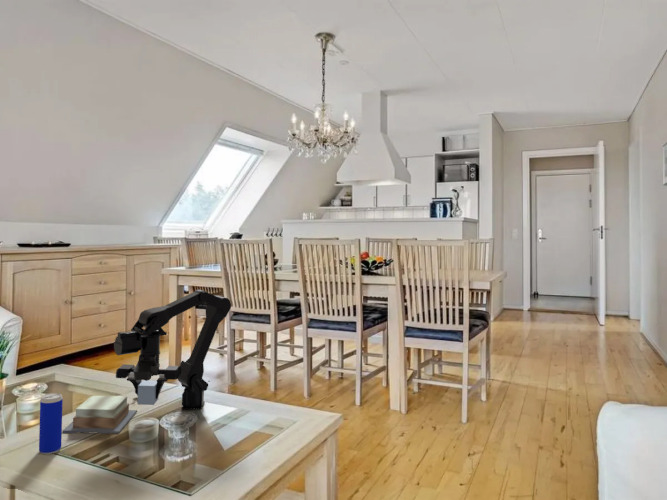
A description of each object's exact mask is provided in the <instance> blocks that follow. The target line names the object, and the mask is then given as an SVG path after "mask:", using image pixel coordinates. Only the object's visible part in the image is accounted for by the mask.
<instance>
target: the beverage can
mask: <svg viewBox="0 0 667 500" xmlns="http://www.w3.org/2000/svg"><path fill="white" fill-rule="evenodd" d="M63 399H64V398H63V395H62V394H61V393H58V392H51V393H45V394H44V395H41V399H40V401H39V402H40V403H39V430H38V431H39V437H38V439H39V440H38V451H39V452H40V453H41V454H42V455H52V453H53V454H55V452H56V453H57V452H60V450H61V448H62V439H63V438H62V436H63V435H62V434H63V433H62V432H63V428H62V427H63V401H64V400H63Z"/></svg>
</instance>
